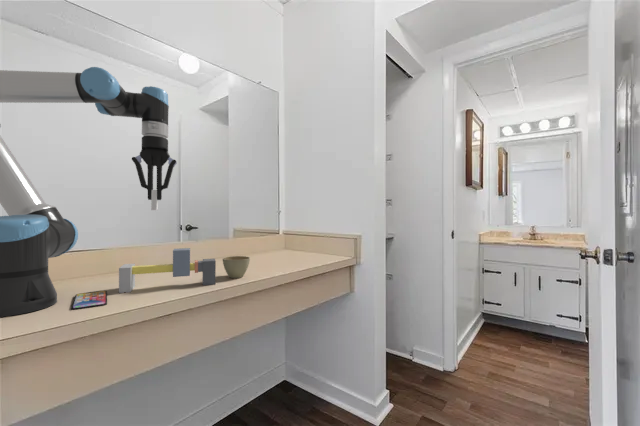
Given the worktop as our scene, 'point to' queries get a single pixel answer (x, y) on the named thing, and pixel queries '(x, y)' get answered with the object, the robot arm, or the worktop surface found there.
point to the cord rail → (130, 270)
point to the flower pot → (236, 265)
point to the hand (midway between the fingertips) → (154, 210)
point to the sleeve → (181, 262)
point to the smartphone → (89, 300)
